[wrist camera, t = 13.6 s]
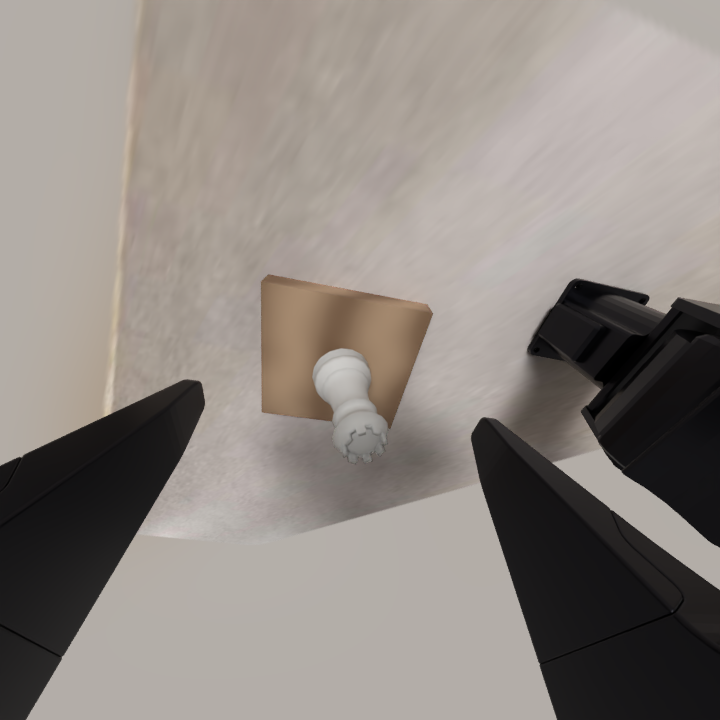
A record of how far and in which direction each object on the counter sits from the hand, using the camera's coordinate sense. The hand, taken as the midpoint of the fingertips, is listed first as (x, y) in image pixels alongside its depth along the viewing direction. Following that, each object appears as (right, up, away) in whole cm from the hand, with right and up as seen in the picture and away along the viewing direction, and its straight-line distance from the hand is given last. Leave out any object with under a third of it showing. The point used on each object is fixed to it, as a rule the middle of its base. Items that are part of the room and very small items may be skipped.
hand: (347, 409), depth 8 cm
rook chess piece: (-1, +1, +13) cm, 13 cm away
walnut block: (-1, +2, +15) cm, 15 cm away
